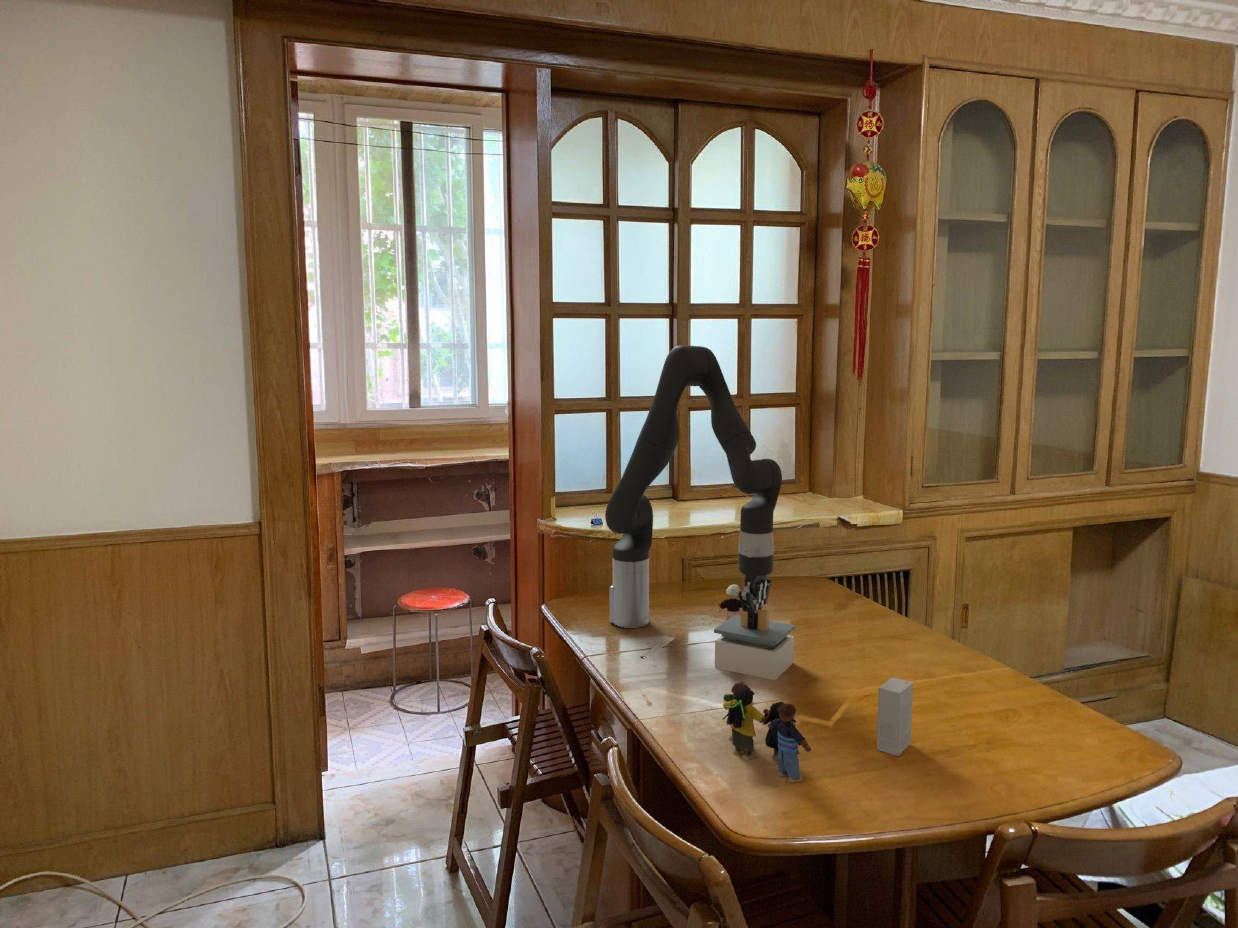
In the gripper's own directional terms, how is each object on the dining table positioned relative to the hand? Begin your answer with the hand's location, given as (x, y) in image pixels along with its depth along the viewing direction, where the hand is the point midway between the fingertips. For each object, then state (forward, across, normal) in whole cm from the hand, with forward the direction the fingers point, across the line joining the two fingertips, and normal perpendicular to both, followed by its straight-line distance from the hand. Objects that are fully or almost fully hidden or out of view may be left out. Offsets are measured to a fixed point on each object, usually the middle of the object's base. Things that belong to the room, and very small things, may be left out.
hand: (754, 626), depth 197 cm
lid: (+2, 0, 0) cm, 2 cm away
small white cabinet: (+10, 0, 0) cm, 10 cm away
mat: (+10, 0, -17) cm, 19 cm away
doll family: (+10, +38, +18) cm, 43 cm away
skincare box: (+10, +22, +36) cm, 43 cm away
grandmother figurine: (+10, -18, -13) cm, 24 cm away
